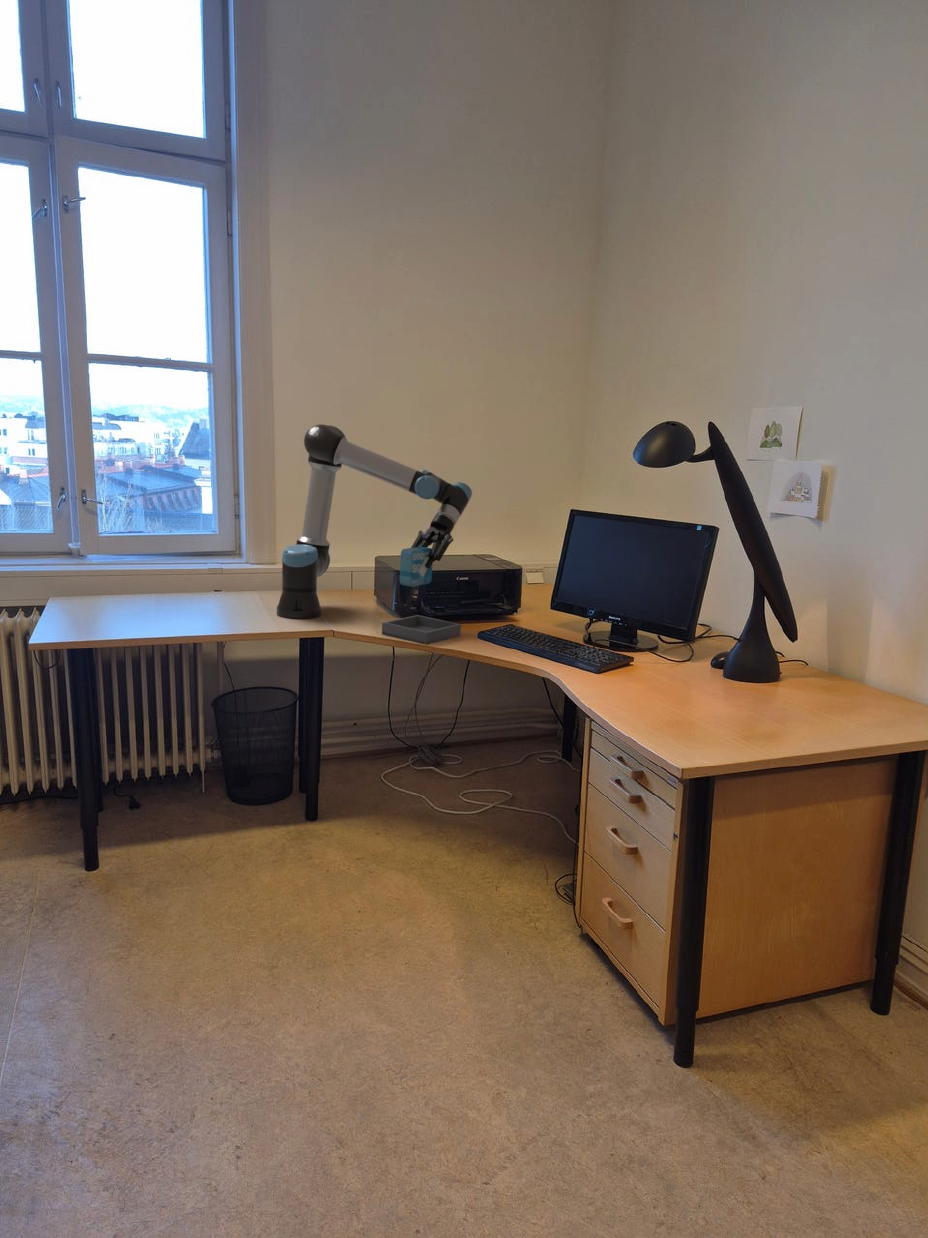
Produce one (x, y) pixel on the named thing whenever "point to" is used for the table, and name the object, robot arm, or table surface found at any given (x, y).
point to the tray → (421, 629)
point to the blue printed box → (414, 566)
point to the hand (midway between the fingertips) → (413, 573)
